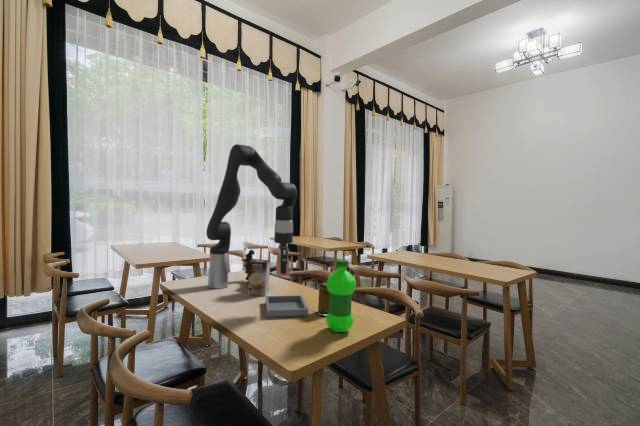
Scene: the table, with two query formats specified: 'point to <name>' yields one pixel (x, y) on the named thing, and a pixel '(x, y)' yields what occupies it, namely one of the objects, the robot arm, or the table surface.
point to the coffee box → (258, 277)
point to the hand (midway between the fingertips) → (282, 272)
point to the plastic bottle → (340, 298)
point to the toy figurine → (249, 257)
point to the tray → (286, 306)
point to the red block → (278, 269)
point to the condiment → (323, 299)
